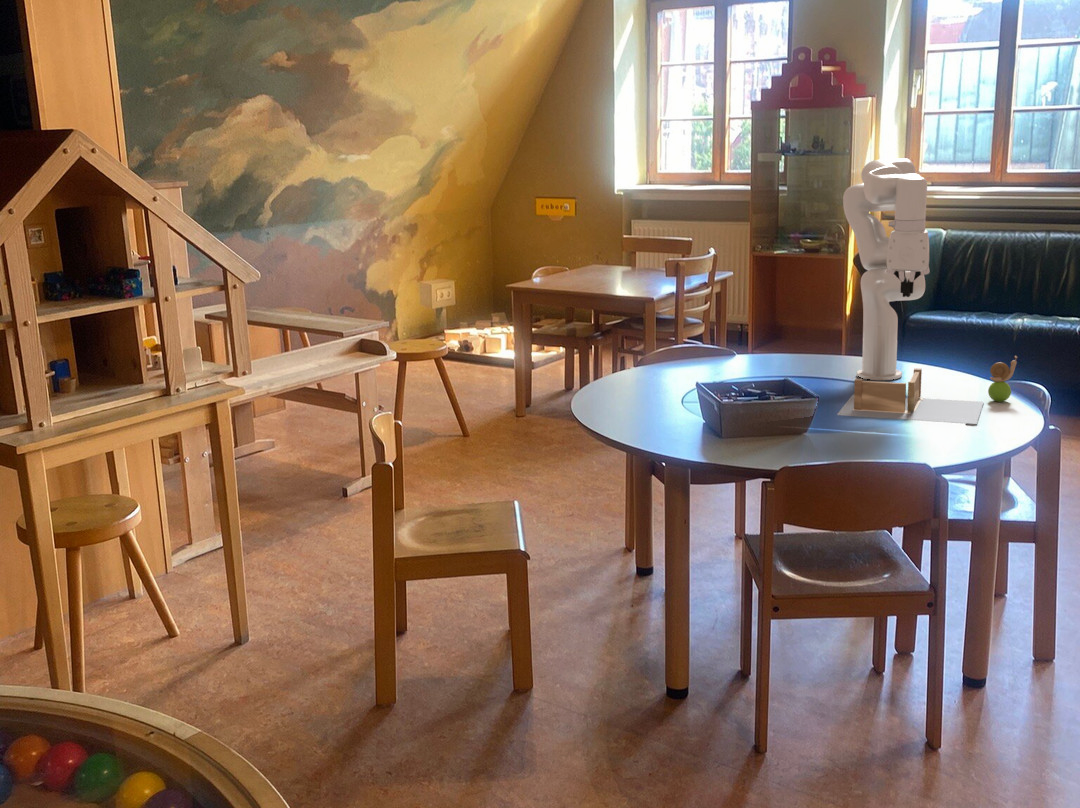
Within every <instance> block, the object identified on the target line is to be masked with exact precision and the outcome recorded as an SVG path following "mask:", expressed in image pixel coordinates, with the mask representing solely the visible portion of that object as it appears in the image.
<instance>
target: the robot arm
mask: <svg viewBox="0 0 1080 808" xmlns="http://www.w3.org/2000/svg"><path fill="white" fill-rule="evenodd" d="M860 176H861V181H862V183H856V184H854V185H851V186H849V187H847V188H846V189H845V191H844V193H843V197H842V204H843V205H842V206H843V211H844V212H843V213H844V215H845V218H846V220H847V221H846V222H847V223H848V225H849V226H850V228H851V229H852V232H853V234H854V236H855V241H856V246H857V251H858V255H859V259H860V263H861V266H862V267H863V268H864V269H865V270H866V271H865V272H864V273H863V274H862V276H861V279H860V289H861V290H860V291H861V298H862V308H863V309H862V310H863V311H862V312H863V315H862V316H863V317H862V319H863V320H862V321H863V322H862V357H861V358H862V362H861V363H862V365H861V367H862V369H859V370H857V371H856V377H858V376H859V377H861V378H860V379H862V378H863V380H867V379H870V380H869V381H892V380H893V379H894V380H897V379H900V378H902V376H903V373H902V371H901V370H899V369H897V361H898V360H897V359H898V358H897V357H898V355H897V354H898V329H899V328H898V326H899V325H898V324H899V323H898V321H899V319H898V318H899V317H898V313H897V312H896V310H895V309H894V308H893V307H892V306H891V304H890V302H896V301H897V302H899V301H900V302H901V301H915V300H919V299H920V298H922V297H924V293H925V291H926V280H925V279H926V278H925V276H926V275H929V274H930V265H929V264H930V238H929V232H928V230H926V220H927V219H926V215H927V201H928V200H927V199H928V180H927V179H926V178H925V177H923V176H922V175H921V174H918V173H917V171H916V167H915V165H914V163H913V161H912V160H910V159H909V158H889V159H888V158H886V159H884V158H883V159H882V158H881V159H875V160H871V161H869V162H868V163H866V164H865V165H864V167H863V168H862V170H861V175H860ZM870 212H871V213H873V212H875V213H876V212H894V220H891V221H890V220H889V221H888V227H891V228H893V230H892V231H891V232H890V234H889V237H888V235H887V232H886V229H885V226H884V224H883V223H882V222H881V221H880V220H879V219H878V218H877V217H876V216H875V215H873V214H871V213H870ZM859 377H858V378H859Z"/></svg>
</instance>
